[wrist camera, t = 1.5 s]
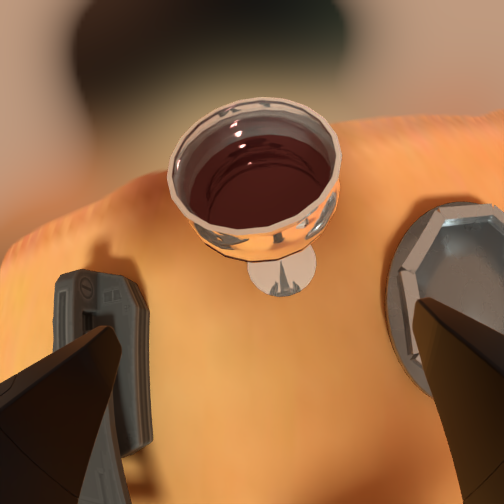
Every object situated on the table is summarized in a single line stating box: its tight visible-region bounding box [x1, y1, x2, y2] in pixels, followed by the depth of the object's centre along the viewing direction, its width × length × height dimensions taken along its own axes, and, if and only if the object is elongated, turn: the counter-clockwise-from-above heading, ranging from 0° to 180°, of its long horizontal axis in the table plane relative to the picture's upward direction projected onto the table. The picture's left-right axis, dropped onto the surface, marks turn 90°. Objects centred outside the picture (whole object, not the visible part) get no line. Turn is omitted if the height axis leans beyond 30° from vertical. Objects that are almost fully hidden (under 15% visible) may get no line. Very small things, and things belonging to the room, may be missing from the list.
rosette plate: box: [385, 202, 504, 399], centre depth 17 cm, size 16×16×2 cm
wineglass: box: [167, 97, 342, 297], centre depth 16 cm, size 7×7×12 cm
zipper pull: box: [53, 269, 153, 504], centre depth 16 cm, size 9×7×25 cm
